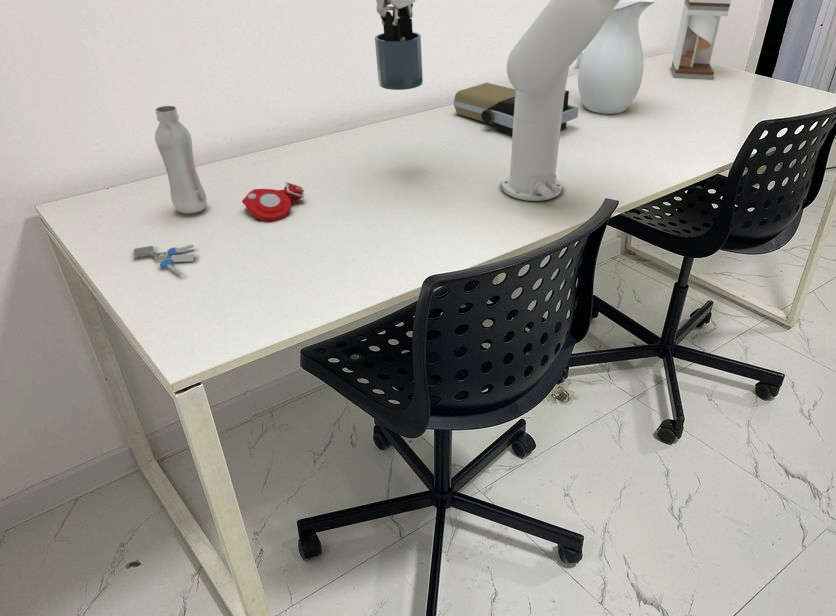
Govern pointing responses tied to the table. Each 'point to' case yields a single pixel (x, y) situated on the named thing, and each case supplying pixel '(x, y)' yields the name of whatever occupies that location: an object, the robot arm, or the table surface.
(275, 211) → the tracker holder
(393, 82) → the tumbler
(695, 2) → the spiral staircase tower model
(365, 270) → the table surface
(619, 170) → the table surface
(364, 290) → the table surface
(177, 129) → the plastic bottle
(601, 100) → the pitcher
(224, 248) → the table surface
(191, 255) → the key chain
